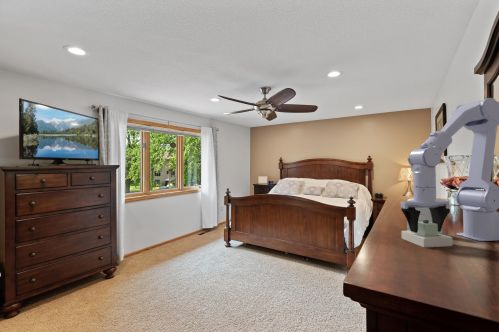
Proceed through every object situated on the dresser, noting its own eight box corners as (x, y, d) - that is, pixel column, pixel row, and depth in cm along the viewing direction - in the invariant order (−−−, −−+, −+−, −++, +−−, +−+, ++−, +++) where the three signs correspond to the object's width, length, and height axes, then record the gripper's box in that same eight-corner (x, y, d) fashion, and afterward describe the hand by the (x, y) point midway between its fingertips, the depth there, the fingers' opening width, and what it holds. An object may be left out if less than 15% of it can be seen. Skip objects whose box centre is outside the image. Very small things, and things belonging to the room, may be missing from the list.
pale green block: (427, 240, 77) (426, 218, 77) (437, 244, 73) (437, 221, 73) (415, 240, 77) (414, 219, 77) (425, 244, 73) (425, 221, 73)
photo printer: (405, 231, 88) (404, 196, 88) (409, 229, 91) (408, 196, 91) (440, 236, 80) (439, 199, 80) (444, 234, 83) (443, 198, 83)
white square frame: (427, 237, 80) (427, 229, 80) (452, 246, 71) (452, 237, 71) (401, 238, 79) (401, 230, 79) (423, 247, 70) (423, 238, 70)
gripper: (435, 185, 80) (436, 227, 80) (393, 186, 79) (394, 228, 78) (455, 187, 73) (456, 232, 73) (409, 188, 71) (410, 234, 71)
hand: (425, 231), depth 75 cm, fingers open, 7 cm apart
